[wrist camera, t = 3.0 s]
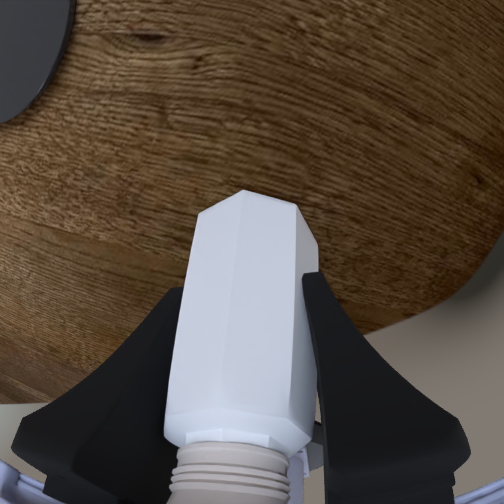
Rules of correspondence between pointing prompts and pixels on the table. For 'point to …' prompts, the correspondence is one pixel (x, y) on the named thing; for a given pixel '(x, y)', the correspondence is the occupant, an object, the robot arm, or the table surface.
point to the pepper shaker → (242, 355)
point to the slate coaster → (30, 49)
